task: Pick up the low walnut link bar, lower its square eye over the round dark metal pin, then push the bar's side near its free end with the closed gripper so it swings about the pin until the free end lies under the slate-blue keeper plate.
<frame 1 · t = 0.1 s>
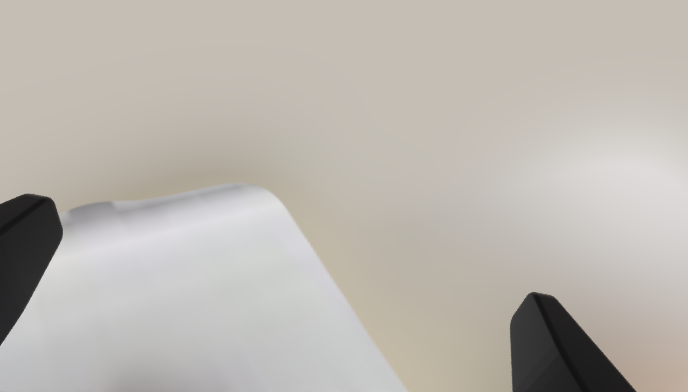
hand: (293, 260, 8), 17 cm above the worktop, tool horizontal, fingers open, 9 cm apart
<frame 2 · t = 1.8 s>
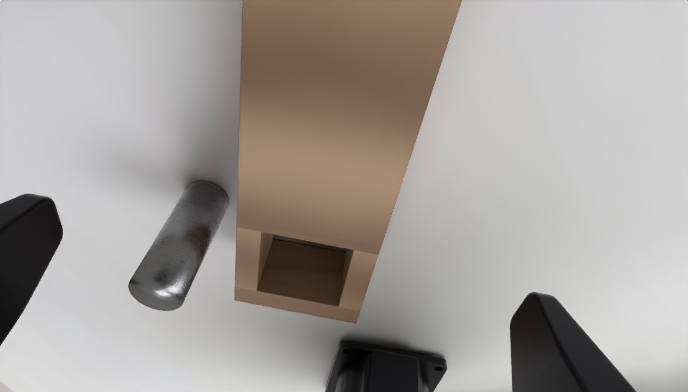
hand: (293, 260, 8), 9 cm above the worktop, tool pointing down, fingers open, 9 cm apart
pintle: (207, 198, 20), on the worktop
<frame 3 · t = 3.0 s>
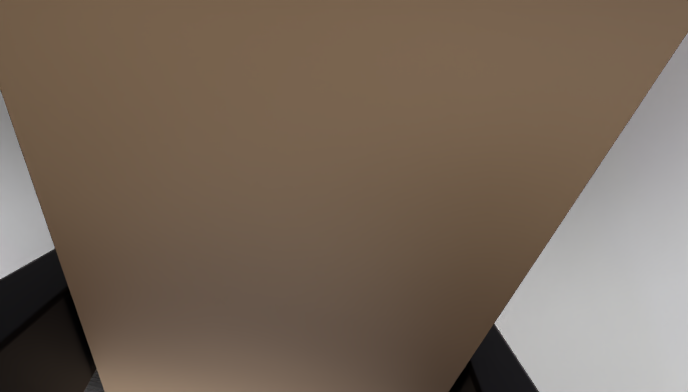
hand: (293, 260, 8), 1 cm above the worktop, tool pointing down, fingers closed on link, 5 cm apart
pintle: (116, 370, 14), on the worktop
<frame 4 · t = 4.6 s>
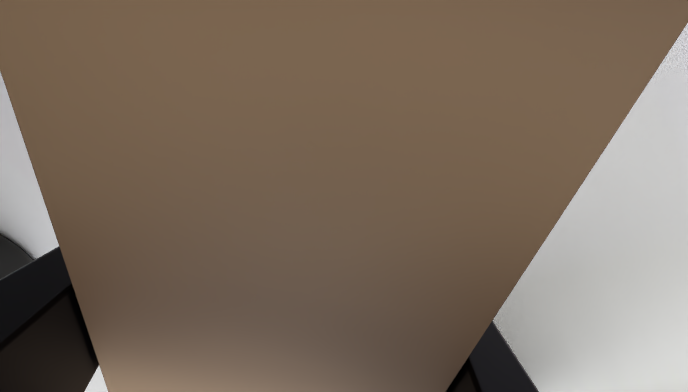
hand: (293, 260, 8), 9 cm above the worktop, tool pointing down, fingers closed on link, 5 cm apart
when the fingers open (2 cm above the worktop, at t = 6.3 s): link stays where it is, on the worktop.
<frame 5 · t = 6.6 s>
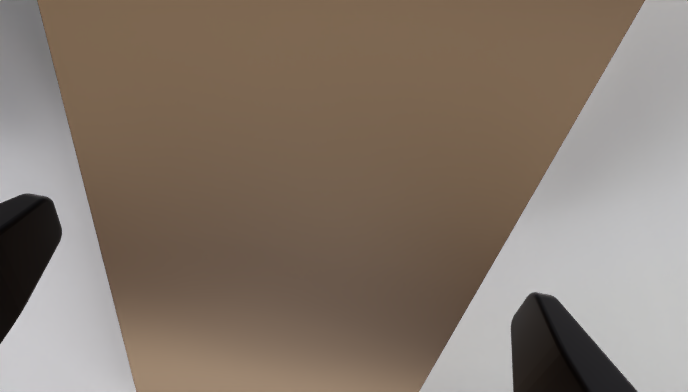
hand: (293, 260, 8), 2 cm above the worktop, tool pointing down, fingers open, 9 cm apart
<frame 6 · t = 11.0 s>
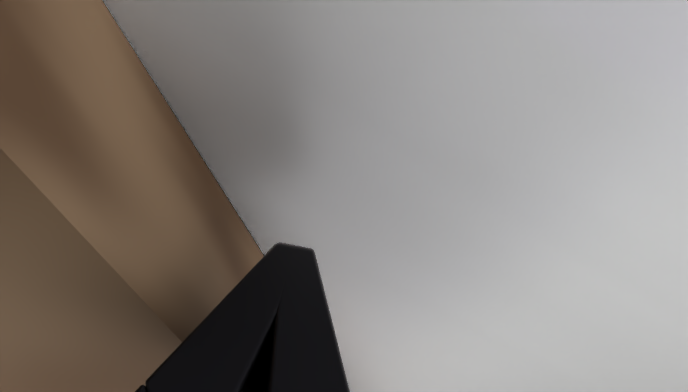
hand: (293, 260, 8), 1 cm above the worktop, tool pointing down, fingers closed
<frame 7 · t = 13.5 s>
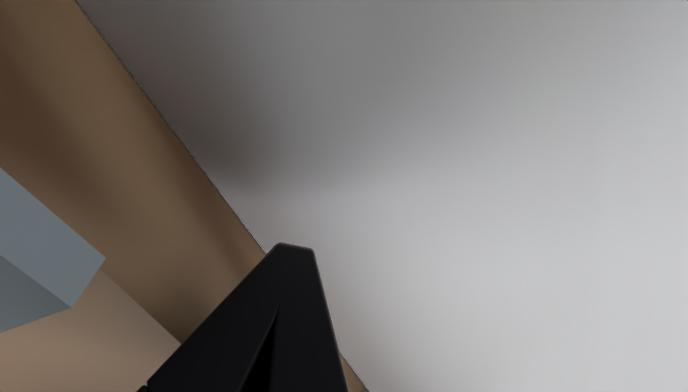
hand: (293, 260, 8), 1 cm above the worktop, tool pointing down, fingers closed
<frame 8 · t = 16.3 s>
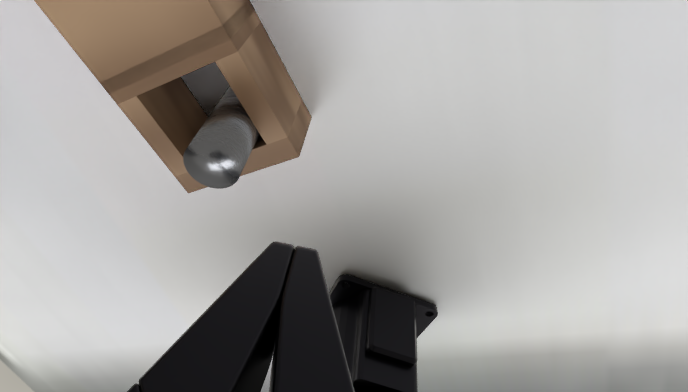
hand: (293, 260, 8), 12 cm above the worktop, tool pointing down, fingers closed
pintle: (252, 94, 20), on the worktop
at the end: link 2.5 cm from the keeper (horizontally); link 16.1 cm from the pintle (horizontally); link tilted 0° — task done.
